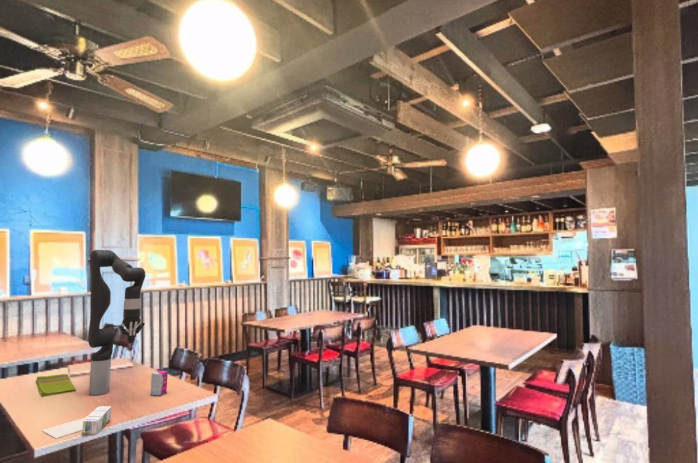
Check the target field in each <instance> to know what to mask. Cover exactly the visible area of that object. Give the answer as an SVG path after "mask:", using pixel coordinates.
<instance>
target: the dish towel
mask: <svg viewBox="0 0 698 463" xmlns="http://www.w3.org/2000/svg"><path fill="white" fill-rule="evenodd" d="M35 383H36V386H37V389H38V393H39V395H40V397H42V398H43V397H45V398H46V397H50V396H55V395H56V396H57V395H62V394H68V393H73V392H77V389H76V387H75V385H74V384H73V383H72V381H71V379H70V376H69V374H67V373H62V374H59V373H58V374H52V375H46V376H45V375H44V376H43V375H41V376H39V375H38V376H37V377H36V380H35Z"/></svg>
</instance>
